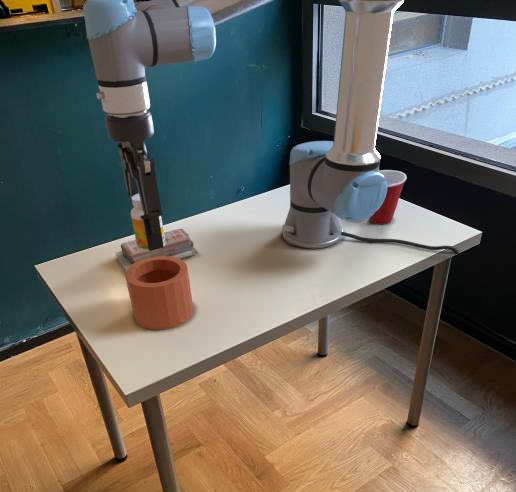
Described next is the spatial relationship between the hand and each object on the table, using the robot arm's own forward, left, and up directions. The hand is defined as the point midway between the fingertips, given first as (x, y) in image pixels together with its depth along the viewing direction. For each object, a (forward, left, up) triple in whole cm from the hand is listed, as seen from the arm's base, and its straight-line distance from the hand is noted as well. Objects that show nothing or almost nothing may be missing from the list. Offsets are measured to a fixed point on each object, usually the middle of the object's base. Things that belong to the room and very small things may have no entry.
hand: (151, 241), depth 97 cm
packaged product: (+8, -24, -16) cm, 30 cm away
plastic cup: (-48, -47, -16) cm, 69 cm away
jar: (0, 0, -16) cm, 16 cm away
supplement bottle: (0, 0, -1) cm, 1 cm away
